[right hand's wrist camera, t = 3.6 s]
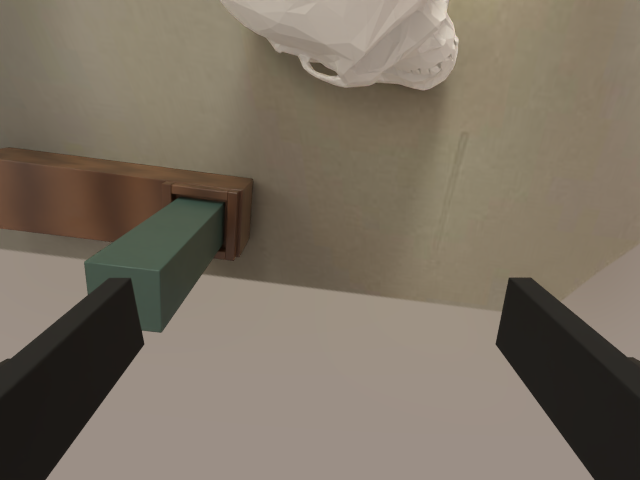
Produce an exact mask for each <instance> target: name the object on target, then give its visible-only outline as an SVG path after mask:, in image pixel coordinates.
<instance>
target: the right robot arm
mask: <svg viewBox="0 0 640 480" xmlns="http://www.w3.org/2000/svg"><path fill="white" fill-rule="evenodd" d="M143 345H144V340H143V335H142V330H141V325H140V320H139V315H138V310H137V305H136V300H135V295H134V290H133V285H132V280H131V278H108V279H107V280H106V281H104V282H103V283H102V284H101V285H100V286H98V287H97V288H96V289H95V290H94V291H92V292H91V293H90V294H89V295H88V296H86V297H85V298H84V299H83V300H81V301H80V302H79V303H78V304H77V305H75V306H74V307H73V308H72V309H71V310H69V311H68V312H67V313H66V314H64V315H63V316H62V317H61V318H60V319H58V320H57V321H56V322H55V323H54V324H52V325H51V326H50V327H49V328H47V329H46V330H45V331H44V332H43V333H42V334H40V335H39V336H38V337H37V338H35V339H34V340H33V341H32V342H31V343H29V344H28V345H27V346H26V347H24V348H23V349H22V350H21V351H20V352H18V353H17V354H16V355H15V356H14V357H12V358H11V359H6V360H4V361H2V362H0V480H46V478H47V477H48V476H49V474H50V473H51V471H52V470H53V469H54V467H55V466H56V465H57V463H58V462H59V460H60V459H61V458H62V456H63V455H64V454H65V452H66V451H67V449H68V448H69V447H70V445H71V444H72V443H73V441H74V440H75V439H76V437H77V436H78V434H79V433H80V432H81V430H82V429H83V428H84V426H85V425H86V423H87V422H88V421H89V419H90V418H91V417H92V415H93V414H94V413H95V411H96V410H97V408H98V407H99V406H100V404H101V403H102V402H103V400H104V399H105V397H106V396H107V395H108V393H109V392H110V391H111V389H112V388H113V386H114V385H115V384H116V382H117V381H118V380H119V378H120V377H121V376H122V374H123V373H124V371H125V370H126V369H127V367H128V366H129V365H130V363H131V362H132V360H133V359H134V358H135V356H136V355H137V354H138V352H139V351H140V350H141V348H142V347H143ZM496 345H497V347H498V348H499V349H500V351H501V352H502V354H503V355H504V356H505V358H506V359H507V360H508V362H509V363H510V365H511V366H512V367H513V369H514V370H515V371H516V373H517V374H518V375H519V377H520V378H521V380H522V381H523V382H524V384H525V385H526V386H527V388H528V389H529V391H530V392H531V393H532V395H533V396H534V397H535V399H536V400H537V402H538V403H539V404H540V406H541V407H542V408H543V410H544V411H545V413H546V414H547V415H548V417H549V418H550V419H551V421H552V422H553V423H554V425H555V426H556V428H557V429H558V430H559V432H560V433H561V434H562V436H563V437H564V439H565V440H566V441H567V443H568V444H569V445H570V447H571V448H572V449H573V451H574V452H575V454H576V455H577V456H578V458H579V459H580V460H581V462H582V463H583V464H584V466H585V467H586V469H587V470H588V471H589V473H590V474H591V476H592V477H593V478H594V480H640V361H639V360H637V359H635V358H633V357H626V356H625V355H624V354H623V353H622V352H620V351H619V350H618V349H617V348H616V347H614V346H613V345H612V344H611V343H609V342H608V341H607V340H606V339H605V338H603V337H602V336H601V335H600V334H599V333H597V332H596V331H595V330H594V329H593V328H591V327H590V326H589V325H588V324H586V323H585V322H584V321H583V320H582V319H580V318H579V317H578V316H577V315H575V314H574V313H573V312H572V311H571V310H569V309H568V308H567V307H566V306H565V305H563V304H562V303H561V302H560V301H559V300H557V299H556V298H555V297H554V296H553V295H551V294H550V293H549V292H548V291H546V290H545V289H544V288H543V287H542V286H540V285H539V284H538V283H537V282H536V281H534V280H533V279H532V278H509V280H508V285H507V290H506V295H505V300H504V305H503V310H502V315H501V320H500V325H499V330H498V335H497V340H496Z"/></svg>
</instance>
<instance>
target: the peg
mask: <svg viewBox="0 0 640 480" xmlns="http://www.w3.org/2000/svg"><path fill="white" fill-rule="evenodd" d="M224 219H225V202H221V201H213V200H205V199H197V198H189V197H181V196H180V197H179V198H177V199H176V200H174V201H173V202H171V203H170V204H168V205H167V206H166V207H164V208H163V209H161V210H160V211H158V212H157V213H155V214H154V215H152V216H151V217H149V218H148V219H146V220H145V221H143V222H142V223H141V224H139V225H138V226H136V227H135V228H133V229H132V230H130V231H129V232H127V233H126V234H124V235H123V236H121V237H120V238H119V239H117V240H116V241H114V242H113V243H111V244H110V245H108V246H107V247H105V248H104V249H102V250H101V251H99V252H98V253H97V254H95V255H94V256H92V257H91V258H89V259H88V260H86V261H85V262H84V265H85V274H86V282H87V291H88V295H89V294H90V293H91V292H92V291H94V290H95V289H96V288H97V287H98V286H100V285H101V284H102V283H103V282H104V281H106V280H107V279H108V278H131V280H132V285H133V290H134V295H135V300H136V305H137V310H138V315H139V320H140V325H141V330H142V331H151V332H160V333H161V332H162V331H163V330H164V328H165V327H166V325H167V324H168V323H169V321H170V320H171V318H172V317H173V315H174V314H175V312H176V311H177V309H178V308H179V307H180V305H181V304H182V302H183V301H184V299H185V298H186V297H187V295H188V294H189V292H190V291H191V289H192V288H193V286H194V285H195V284H196V282H197V281H198V279H199V278H200V276H201V275H202V273H203V272H204V271H205V269H206V268H207V266H208V265H209V263H210V262H211V260H212V259H213V258H214V256H215V255H216V253H217V252H218V250H219V249H220V247H221V246H222V245H223V243H224Z"/></svg>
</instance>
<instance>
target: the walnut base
mask: <svg viewBox="0 0 640 480" xmlns="http://www.w3.org/2000/svg"><path fill="white" fill-rule="evenodd" d="M252 188H253V179H250V178H242V177H235V176H227V175H219V174H211V173H204V172H196V171H188V170H180V169H173V168H165V167H157V166H149V165H142V164H134V163H126V162H118V161H111V160H103V159H95V158H87V157H80V156H72V155H64V154H56V153H49V152H41V151H33V150H26V149H18V148H10V147H8V148H2V149H0V228H2V229H10V230H18V231H26V232H35V233H43V234H51V235H60V236H68V237H76V238H84V239H93V240H101V241H109V242H114V241H116V240H117V239H119V238H120V237H121V236H123V235H124V234H126V233H127V232H129V231H130V230H132V229H133V228H135V227H136V226H138V225H139V224H141V223H142V222H143V221H145V220H146V219H148V218H149V217H151V216H152V215H154V214H155V213H157V212H158V211H160V210H161V209H163V208H164V207H166V206H167V205H168V204H170V203H171V202H173V201H174V200H176V199H177V198H179V197H180V196H181V197H189V198H197V199H205V200H213V201H221V202H225V219H224V243H223V245H222V246H221V247H220V249H219V250H218V252H217V253H216V255H215V256H214V258H216V259H225V260H232V261H234V259H235V257H240V255H241V253H242V251H243V249H244V247H245V245H246V244H247V242H248V240H249V235H250V220H251V204H252Z"/></svg>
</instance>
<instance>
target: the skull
mask: <svg viewBox="0 0 640 480" xmlns="http://www.w3.org/2000/svg"><path fill="white" fill-rule="evenodd" d="M220 1H221V3H222V4H223V5H224V6H225V8H226V9H227V10H228V11H229V12H230V14H231V15H233V16H234V17H235V18H236V19H237V20H238V21H239V22H240V23H241V24H242V25H244V26H245V27H247V28H249V29H250V30H252V31H253V32H255V33H257V34H258V35H261V36H263V37H265V38H267V40H268V41H269V42H270V44H271V45H272V46H273V47H274V49H275V51H277V52H279V53H281V52H285V53H289V54H292V55H296V56H298V57H299V59H300V61H301V63H302V66H303V68H304V69H305V70H306V71H307V72H308V73H309V74H311V75H313V76H314V77H316V78H318V79H320V80H322V81H325V82H328V83H330V84H333V85H335V86H339V87H345V88H349V87H361V86H369V85H372V84H374V83H390V84H400V85H403V86H406V87H410V88H414V89H418V90H423V91H424V90H427V89H431V88H433V87H434V86H436V85H438V84H439V83H441V82H443V81H444V80H446V78H447V77H448V75H449V74H450V73H451V71H452V70H453V68H454V66H455V63H456V58H457V54H458V43H459V39H458V38H457V36H456V35H455V28H454V24H453V22H452V21H451V19H450V17H449V15H448V13H447V8H448V4H449V0H220ZM310 62H314V63H321V64H323V65H324V66H325V67H327V68H329V69H331V70H333V71H335V72H336V73H337V74H338V75H335V76H328V75H326V74H323V73H319V72H316V71H315V70H314V69H313V67H312V66H311V64H310Z"/></svg>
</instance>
